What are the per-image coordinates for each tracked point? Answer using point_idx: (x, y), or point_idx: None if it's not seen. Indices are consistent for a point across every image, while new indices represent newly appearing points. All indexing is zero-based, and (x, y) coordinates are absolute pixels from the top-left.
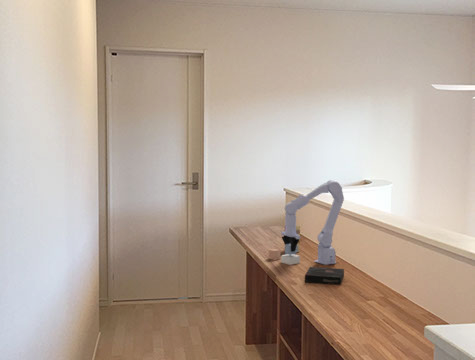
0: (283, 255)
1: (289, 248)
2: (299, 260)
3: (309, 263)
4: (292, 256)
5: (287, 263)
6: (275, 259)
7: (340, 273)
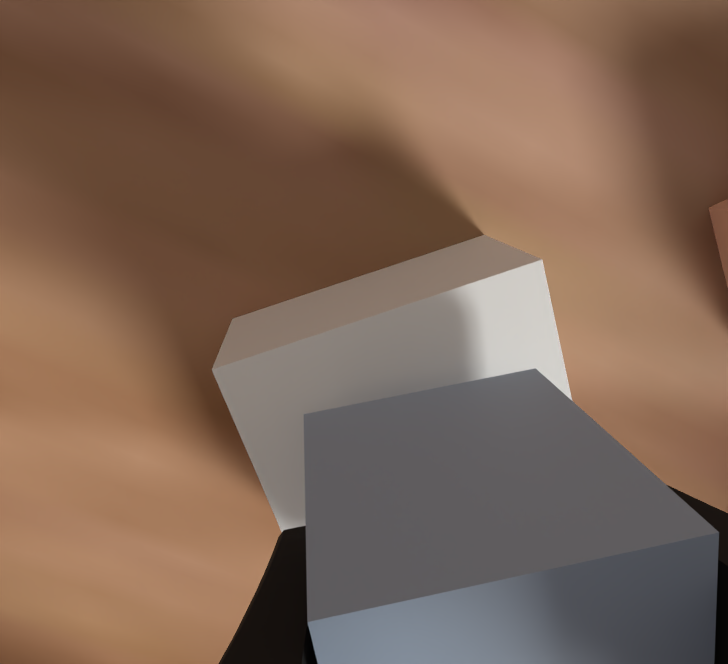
0: (511, 313)
1: (318, 521)
2: None
3: (214, 647)
4: None
5: (308, 296)
6: (716, 219)
7: None
